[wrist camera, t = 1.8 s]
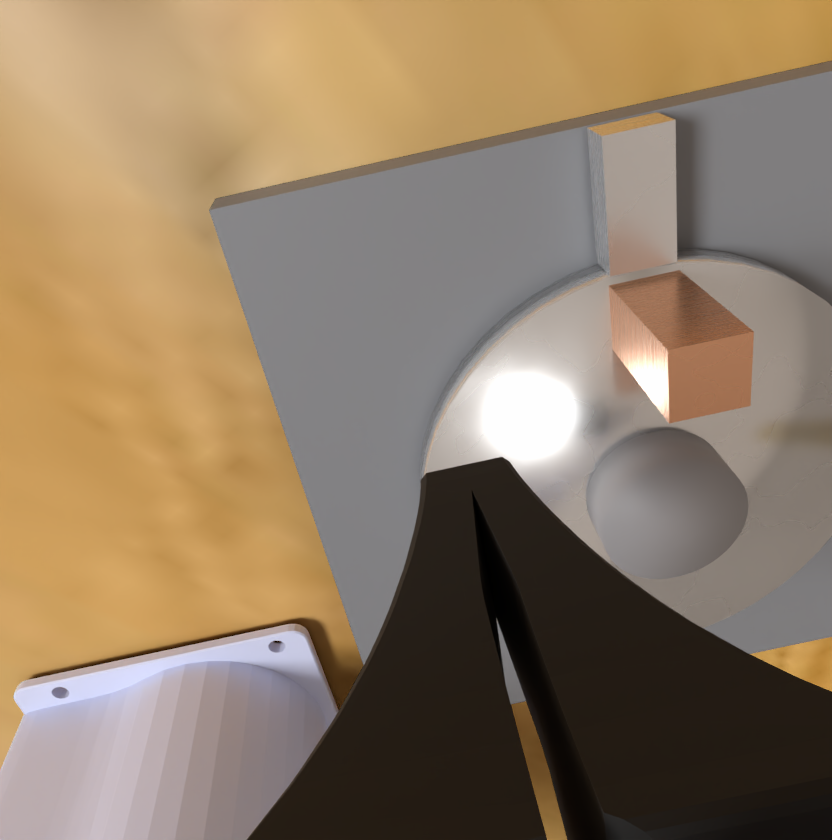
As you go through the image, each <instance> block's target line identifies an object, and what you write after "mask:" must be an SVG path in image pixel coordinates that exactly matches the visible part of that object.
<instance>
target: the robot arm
mask: <svg viewBox="0 0 832 840" xmlns="http://www.w3.org/2000/svg"><path fill="white" fill-rule="evenodd" d="M420 483H421V490H420V501H419V508H418V513H417V518H416V523H415V528H414V532H413V536H412V540H411V544H410V547H409V551H408V555H407V558H406V562H405V565H404V569H403V572H402V575H401V577H400V580H399V583H398V586H397V589H396V592H395V594H394V597H393V600H392V603H391V606H390V608H389V611H388V613H387V616H386V618H385V621H384V623H383V625H382V628H381V630H380V632H379V634H378V637H377V639H376V641H375V643H374V645H373V647H372V650H371V652H370V654H369V656H368V658H367V660H366V662H365V664H364V666H363V668H362V670H361V671H360V673H359V675H358V677H357V679H356V681H355V683H354V684H353V686H352V688H351V690H350V692H349V694H348V696H347V697H346V699H345V701H344V703H343V704H342V706H341V708H340V709H339V711H338V708H337V705H336V703H335V700H334V698H333V695H332V692H331V690H330V687H329V684H328V682H327V679H326V677H325V674H324V671H323V669H322V666H321V664H320V661H319V658H318V656H317V653H316V651H315V648H314V645H313V643H312V640H311V637H310V635H309V632H308V631H307V629H306V628H305V627H303V626H302V625H299V624H286V625H282V626H277V627H272V628H268V629H263V630H258V631H254V632H249V633H244V634H240V635H235V636H230V637H226V638H221V639H216V640H212V641H207V642H202V643H198V644H193V645H188V646H184V647H179V648H174V649H169V650H165V651H160V652H155V653H151V654H146V655H141V656H137V657H132V658H127V659H123V660H118V661H113V662H109V663H104V664H99V665H95V666H90V667H85V668H81V669H76V670H71V671H67V672H62V673H57V674H53V675H48V676H43V677H39V678H34V679H29V680H25V681H23V682H21V683H20V684H19V685H18V686H17V688H16V691H15V693H14V697H13V698H14V700H15V702H16V703H17V705H18V706H19V708H20V709H21V710H22V712H23V713H24V715H23V718H22V720H21V722H20V725H19V727H18V730H17V732H16V734H15V737H14V739H13V741H12V744H11V746H10V748H9V751H8V753H7V756H6V758H5V760H4V763H3V765H2V767H1V770H0V840H547V838H546V834H545V830H544V827H543V823H542V819H541V816H540V812H539V808H538V805H537V801H536V797H535V794H534V790H533V786H532V783H531V779H530V775H529V771H528V768H527V764H526V760H525V756H524V753H523V749H522V745H521V742H520V738H519V734H518V730H517V726H516V722H515V719H514V715H513V711H512V707H511V703H510V699H509V696H508V692H507V688H506V684H505V677H504V669H503V662H502V655H501V648H500V641H499V634H498V626H497V621H498V624H499V627H500V629H501V632H502V635H503V638H504V641H505V643H506V646H507V649H508V652H509V655H510V658H511V660H512V663H513V666H514V669H515V671H516V674H517V677H518V680H519V683H520V685H521V688H522V691H523V694H524V697H525V699H526V702H527V705H528V708H529V711H530V713H531V716H532V719H533V722H534V725H535V727H536V730H537V733H538V736H539V738H540V741H541V745H542V748H543V751H544V754H545V757H546V761H547V764H548V767H549V770H550V774H551V778H552V782H553V786H554V790H555V794H556V797H557V801H558V805H559V809H560V813H561V817H562V821H563V824H564V828H565V832H566V836H567V840H832V692H831V691H829V690H826V689H824V688H821V687H819V686H817V685H814V684H812V683H809V682H807V681H804V680H802V679H800V678H798V677H795V676H793V675H791V674H789V673H787V672H785V671H783V670H781V669H779V668H777V667H775V666H773V665H770V664H768V663H766V662H764V661H762V660H760V659H758V658H756V657H754V656H752V655H750V654H748V653H746V652H745V651H743V650H741V649H739V648H737V647H736V646H734V645H732V644H730V643H729V642H727V641H725V640H723V639H721V638H720V637H718V636H716V635H714V634H713V633H711V632H709V631H707V630H705V629H704V628H702V627H700V626H698V625H697V624H695V623H693V622H692V621H690V620H688V619H687V618H685V617H684V616H682V615H681V614H679V613H678V612H676V611H674V610H673V609H671V608H670V607H668V606H667V605H665V604H664V603H662V602H661V601H659V600H658V599H656V598H655V597H653V596H652V595H651V594H649V593H648V592H646V591H645V590H644V589H642V588H641V587H639V586H638V585H636V584H635V583H634V582H632V581H631V580H630V579H628V578H627V577H626V576H625V575H623V574H622V573H621V572H619V571H618V570H617V569H616V568H614V567H613V566H612V565H611V564H609V563H608V562H607V561H606V560H605V559H603V558H602V557H601V556H600V555H599V554H597V553H596V552H595V551H594V550H593V549H591V548H590V547H589V546H588V545H587V544H586V543H585V542H584V541H582V540H581V539H580V538H579V537H578V536H577V535H576V534H575V533H574V532H573V531H572V530H571V529H570V528H569V527H568V526H567V525H565V524H564V523H563V522H562V521H561V520H560V519H559V518H558V517H557V516H556V515H555V514H554V513H553V512H552V511H551V510H550V509H549V508H548V507H547V506H546V505H545V504H544V503H543V502H542V500H541V499H540V498H539V497H538V496H537V495H536V494H535V493H534V492H533V491H532V489H531V488H530V487H529V486H528V485H527V484H526V482H525V481H524V480H523V479H522V478H521V476H520V475H519V474H518V472H517V471H516V470H515V468H514V467H513V466H512V464H511V463H510V461H508V460H507V459H505V458H503V457H498V458H494V459H489V460H484V461H480V462H475V463H470V464H466V465H461V466H456V467H452V468H447V469H442V470H438V471H433V472H428V473H426V474H425V475H424V476H423V478H422V479H421V480H420ZM496 618H497V619H496ZM273 641H281V643H274V642H273ZM61 687H63V688H61Z"/></svg>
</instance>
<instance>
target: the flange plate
mask: <svg viewBox="0 0 832 840" xmlns="http://www.w3.org/2000/svg"><path fill="white" fill-rule="evenodd" d="M587 133H588V147H589V161H590V175H591V189H592V204H593V218H594V232H595V246H596V260H597V263H598V264H595V265H593V266H590V267H588V268H586V269H583V270H581V271H578V272H576V273H574V274H571V275H569V276H566V277H564V278H562V279H560V280H559V281H557V282H555V283H553V284H551V285H550V286H548V287H546V288H544V289H543V290H541V291H539V292H537V293H535V294H534V295H532V296H531V297H529V298H528V299H527V300H525V301H524V302H523V303H521V304H520V305H518V306H517V307H516V308H514V309H513V310H512V311H510V312H509V313H507V314H506V315H505V316H504V317H503V318H502V319H501V320H500V321H498V322H497V323H496V324H495V325H494V326H493V327H492V328H491V329H490V330H489V331H488V332H487V333H485V334H484V335H483V336H482V337H481V338H480V340H479V341H478V342H477V343H476V344H475V346H474V347H473V348H472V349H471V350H470V351H469V353H468V354H467V355H466V356H465V357H464V358H463V360H462V361H461V362H460V364H459V365H458V367H457V368H456V370H455V371H454V373H453V375H452V376H451V378H450V379H449V381H448V382H447V384H446V385H445V387H444V389H443V391H442V393H441V395H440V397H439V400H438V402H437V404H436V406H435V408H434V410H433V412H432V415H431V418H430V422H429V425H428V428H427V431H426V434H425V437H424V443H423V449H422V455H421V461H420V480H421V479H422V478H423V476H424V475H425V474H426V473H428V472H433V471H438V470H442V469H447V468H452V467H456V466H461V465H466V464H470V463H475V462H480V461H484V460H489V459H494V458H498V457H503V458H505V459H507V460H508V461H510V463H511V464H512V466H513V467H514V468H515V470H516V471H517V472H518V474H519V475H520V476H521V478H522V479H523V480H524V481H525V482H526V484H527V485H528V486H529V487H530V488H531V489H532V491H533V492H534V493H535V494H536V495H537V496H538V497H539V498H540V499H541V500H542V502H543V503H544V504H545V505H546V506H547V507H548V508H549V509H550V510H551V511H552V512H553V513H554V514H555V515H556V516H557V517H558V518H559V519H560V520H561V521H562V522H563V523H564V524H565V525H567V526H568V527H569V528H570V529H571V530H572V531H573V532H574V533H575V534H576V535H577V536H578V537H579V538H580V539H581V540H582V541H584V542H585V543H586V544H587V545H588V546H589V547H590V548H591V549H593V550H594V551H595V552H596V553H597V554H599V555H600V556H601V557H602V558H603V559H605V560H606V561H607V562H608V563H609V564H611V565H612V566H613V567H614V568H616V569H617V570H618V571H619V572H621V573H622V574H623V575H625V576H626V577H627V578H628V579H630V580H631V581H632V582H634V583H635V584H636V585H638V586H639V587H641V588H642V589H644V590H645V591H646V592H648V593H649V594H651V595H652V596H653V597H655V598H656V599H658V600H659V601H661V602H662V603H664V604H665V605H667V606H668V607H670V608H671V609H673V610H674V611H676V612H678V613H679V614H681V615H682V616H684V617H685V618H687V619H688V620H690V621H692V622H693V623H695V624H697V625H698V626H700V627H702V628H705V627H708V626H710V625H712V624H715V623H717V622H719V621H721V620H723V619H726V618H728V617H730V616H732V615H734V614H736V613H738V612H739V611H741V610H743V609H745V608H747V607H748V606H750V605H752V604H754V603H756V602H757V601H759V600H760V599H762V598H763V597H765V596H766V595H768V594H769V593H770V592H772V591H773V590H775V589H776V588H778V587H779V586H780V585H782V584H783V583H784V582H785V581H787V580H788V579H789V578H790V577H791V576H793V575H794V574H795V573H796V572H798V571H799V570H800V569H801V568H802V567H803V566H804V565H805V564H806V563H807V562H808V561H809V560H810V559H811V558H812V557H813V556H814V555H815V554H816V553H817V552H818V551H819V550H820V549H821V548H822V547H823V545H824V544H825V543H826V542H827V541H828V540H829V538H830V537H831V536H832V306H831V305H830V304H829V303H828V302H827V301H825V300H824V299H822V298H821V297H819V296H818V295H816V294H815V293H813V292H812V291H810V290H808V289H807V288H805V287H804V286H802V285H801V284H799V283H798V282H796V281H795V280H793V279H791V278H790V277H788V276H787V275H785V274H784V273H782V272H781V271H779V270H776V269H774V268H772V267H769V266H767V265H765V264H762V263H760V262H758V261H756V260H753V259H749V258H745V257H741V256H737V255H733V254H730V253H726V252H717V251H708V250H699V249H677V202H676V120H675V119H672V118H670V117H667V116H665V115H662V114H660V113H657V112H656V113H651V114H647V115H642V116H638V117H633V118H629V119H625V120H620V121H616V122H611V123H607V124H602V125H598V126H593V127H589V128H587ZM661 430H678V431H684V432H689V433H692V434H695V435H697V436H699V437H701V438H703V439H704V440H706V441H707V442H708V443H709V444H710V445H711V446H712V447H713V448H714V449H715V450H716V451H717V453H718V454H719V455H720V456H721V457H722V459H723V460H724V461H725V462H726V464H727V465H728V466H729V467H730V468H731V470H732V471H733V472H734V473H735V475H736V476H737V477H738V478H739V479H740V481H741V482H742V484H743V485H744V487H745V490H746V492H747V496H748V505H749V508H748V515H747V519H746V522H745V525H744V527H743V529H742V531H741V533H740V535H739V536H738V538H737V539H736V540H735V542H734V543H733V544H732V545H731V546H730V548H729V549H728V550H727V551H726V552H724V553H723V554H722V555H721V556H720V557H719V558H717V559H716V560H714V561H713V562H712V563H710V564H708V565H706V566H705V567H703V568H701V569H699V570H697V571H694V572H692V573H689V574H686V575H682V576H679V577H674V578H668V579H648V578H642V577H638V576H634V575H632V574H630V573H627V572H625V571H624V570H622V569H620V568H619V567H618V566H617V565H616V564H615V563H614V562H613V561H612V560H611V559H610V557H609V555H608V554H607V552H606V550H605V548H604V546H603V543H602V541H601V539H600V537H599V535H598V533H597V531H596V529H595V527H594V525H593V523H592V521H591V519H590V516H589V513H588V510H587V505H586V495H587V489H588V486H589V482H590V480H591V478H592V476H593V474H594V472H595V471H596V469H597V467H598V466H599V465H600V464H601V462H602V461H603V460H604V459H605V458H606V457H607V456H608V455H609V454H610V453H611V452H612V451H614V450H615V449H616V448H617V447H619V446H621V445H622V444H624V443H625V442H627V441H629V440H631V439H633V438H635V437H638V436H641V435H643V434H647V433H650V432H655V431H661ZM420 490H421V483H420ZM496 619H497V618H496ZM497 623H498V621H497Z"/></svg>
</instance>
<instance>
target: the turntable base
mask: <svg viewBox="0 0 832 840" xmlns="http://www.w3.org/2000/svg"><path fill="white" fill-rule="evenodd" d="M656 112H657V113H660V114H662V115H665V116H667V117H670V118H672V119H675V120H676V202H677V249H699V250H708V251H717V252H726V253H730V254H733V255H737V256H741V257H745V258H749V259H753V260H756V261H758V262H760V263H762V264H765V265H767V266H769V267H772V268H774V269H776V270H779V271H781V272H782V273H784V274H785V275H787V276H788V277H790V278H791V279H793V280H795V281H796V282H798V283H799V284H801V285H802V286H804V287H805V288H807V289H808V290H810V291H812V292H813V293H815V294H816V295H818V296H819V297H821V298H822V299H824V300H825V301H827V302H828V303H829V304H830V305H831V306H832V61H828V62H824V63H819V64H815V65H810V66H806V67H801V68H797V69H793V70H788V71H784V72H779V73H775V74H770V75H766V76H761V77H757V78H752V79H748V80H743V81H739V82H734V83H730V84H726V85H721V86H717V87H712V88H708V89H703V90H699V91H694V92H690V93H685V94H681V95H676V96H672V97H667V98H663V99H658V100H654V101H650V102H645V103H641V104H636V105H632V106H627V107H623V108H618V109H614V110H609V111H605V112H600V113H596V114H591V115H587V116H583V117H578V118H574V119H569V120H565V121H560V122H556V123H551V124H547V125H542V126H538V127H533V128H529V129H524V130H520V131H516V132H511V133H507V134H502V135H498V136H493V137H489V138H484V139H480V140H475V141H471V142H466V143H462V144H457V145H453V146H448V147H444V148H440V149H435V150H431V151H426V152H422V153H417V154H413V155H408V156H404V157H399V158H395V159H390V160H386V161H381V162H377V163H373V164H368V165H364V166H359V167H355V168H350V169H346V170H341V171H337V172H332V173H328V174H323V175H319V176H314V177H310V178H305V179H301V180H297V181H292V182H288V183H283V184H279V185H274V186H270V187H265V188H261V189H256V190H252V191H247V192H243V193H238V194H234V195H230V196H225V197H221V198H216V199H215V200H214V202H213V204H212V206H211V208H210V210H209V211H210V214H211V217H212V220H213V223H214V226H215V229H216V232H217V235H218V238H219V241H220V244H221V247H222V250H223V253H224V255H225V258H226V261H227V264H228V267H229V270H230V273H231V276H232V279H233V282H234V285H235V288H236V291H237V294H238V297H239V300H240V303H241V306H242V308H243V311H244V314H245V317H246V320H247V323H248V326H249V329H250V332H251V335H252V338H253V341H254V344H255V347H256V350H257V353H258V356H259V359H260V362H261V364H262V367H263V370H264V373H265V376H266V379H267V382H268V385H269V388H270V391H271V394H272V397H273V400H274V403H275V406H276V409H277V412H278V415H279V417H280V420H281V423H282V426H283V429H284V432H285V435H286V438H287V441H288V444H289V447H290V450H291V453H292V456H293V459H294V462H295V465H296V468H297V470H298V473H299V476H300V479H301V482H302V485H303V488H304V491H305V494H306V497H307V500H308V503H309V506H310V509H311V512H312V515H313V518H314V521H315V523H316V526H317V529H318V532H319V535H320V538H321V541H322V544H323V547H324V550H325V553H326V556H327V559H328V562H329V565H330V568H331V571H332V574H333V577H334V579H335V582H336V585H337V588H338V591H339V594H340V597H341V600H342V603H343V606H344V609H345V612H346V615H347V618H348V621H349V624H350V627H351V630H352V632H353V635H354V638H355V641H356V644H357V647H358V650H359V653H360V656H361V659H362V662H363V665H364V664H365V662H366V660H367V658H368V656H369V654H370V652H371V650H372V647H373V645H374V643H375V641H376V639H377V637H378V634H379V632H380V630H381V628H382V625H383V623H384V621H385V618H386V616H387V613H388V611H389V608H390V606H391V603H392V600H393V597H394V594H395V592H396V589H397V586H398V583H399V580H400V577H401V575H402V572H403V569H404V565H405V562H406V558H407V555H408V551H409V547H410V544H411V540H412V536H413V532H414V528H415V523H416V518H417V513H418V508H419V501H420V461H421V455H422V449H423V443H424V437H425V434H426V431H427V428H428V425H429V422H430V418H431V415H432V412H433V410H434V408H435V406H436V404H437V402H438V400H439V397H440V395H441V393H442V391H443V389H444V387H445V385H446V384H447V382H448V381H449V379H450V378H451V376H452V375H453V373H454V371H455V370H456V368H457V367H458V365H459V364H460V362H461V361H462V360H463V358H464V357H465V356H466V355H467V354H468V353H469V351H470V350H471V349H472V348H473V347H474V346H475V344H476V343H477V342H478V341H479V340H480V338H481V337H482V336H483V335H484V334H485V333H487V332H488V331H489V330H490V329H491V328H492V327H493V326H494V325H495V324H496V323H497V322H498V321H500V320H501V319H502V318H503V317H504V316H505V315H506V314H507V313H509V312H510V311H512V310H513V309H514V308H516V307H517V306H518V305H520V304H521V303H523V302H524V301H525V300H527V299H528V298H529V297H531V296H532V295H534V294H535V293H537V292H539V291H541V290H543V289H544V288H546V287H548V286H550V285H551V284H553V283H555V282H557V281H559V280H560V279H562V278H564V277H566V276H569V275H571V274H574V273H576V272H578V271H581V270H583V269H586V268H588V267H590V266H593V265H595V264H598V263H597V260H596V246H595V232H594V218H593V204H592V189H591V175H590V161H589V147H588V133H587V128H589V127H593V126H598V125H602V124H607V123H611V122H616V121H620V120H625V119H629V118H633V117H638V116H642V115H647V114H651V113H656ZM586 505H587V510H588V513H589V516H590V519H591V521H592V523H593V525H594V527H595V529H596V531H597V533H598V535H599V537H600V539H601V541H602V543H603V546H604V548H605V550H606V552H607V554H608V555H609V557H610V559H611V560H612V561H613V562H614V563H615V564H616V565H617V566H618V567H619V568H620V569H622V570H624V571H625V572H627V573H630V574H632V575H634V576H638V577H642V578H648V579H668V578H674V577H679V576H682V575H686V574H689V573H692V572H694V571H697V570H699V569H701V568H703V567H705V566H706V565H708V564H710V563H712V562H713V561H714V560H716V559H717V558H719V557H720V556H721V555H722V554H723V553H724V552H726V551H727V550H728V549H729V548H730V546H731V545H732V544H733V543H734V542H735V540H736V539H737V538H738V536H739V535H740V533H741V531H742V529H743V527H744V525H745V522H746V519H747V515H748V508H749V505H748V496H747V492H746V490H745V487H744V485H743V484H742V482H741V481H740V479H739V478H738V477H737V476H736V475H735V473H734V472H733V471H732V470H731V468H730V467H729V466H728V465H727V464H726V462H725V461H724V460H723V459H722V457H721V456H720V455H719V454H718V453H717V451H716V450H715V449H714V448H713V447H712V446H711V445H710V444H709V443H708V442H707V441H706V440H704V439H703V438H701V437H699V436H697V435H695V434H692V433H689V432H684V431H678V430H661V431H655V432H650V433H647V434H643V435H641V436H638V437H635V438H633V439H631V440H629V441H627V442H625V443H624V444H622V445H621V446H619V447H617V448H616V449H615V450H614V451H612V452H611V453H610V454H609V455H608V456H607V457H606V458H605V459H604V460H603V461H602V462H601V464H600V465H599V466H598V467H597V469H596V471H595V472H594V474H593V476H592V478H591V480H590V482H589V486H588V489H587V495H586ZM497 626H498V634H499V641H500V648H501V655H502V662H503V669H504V677H505V684H506V688H507V692H508V696H509V699H510V703H511V704H515V703H519V702H524V701H526V699H525V697H524V694H523V691H522V688H521V685H520V683H519V680H518V677H517V674H516V671H515V669H514V666H513V663H512V660H511V658H510V655H509V652H508V649H507V646H506V643H505V641H504V638H503V635H502V632H501V629H500V627H499V624H498V623H497ZM704 629H705V630H707V631H709V632H711V633H713V634H714V635H716V636H718V637H720V638H721V639H723V640H725V641H727V642H729V643H730V644H732V645H734V646H736V647H737V648H739V649H741V650H743V651H745V652H746V653H748V654H752V653H756V652H761V651H766V650H771V649H775V648H780V647H785V646H789V645H794V644H799V643H804V642H808V641H813V640H818V639H823V638H827V637H832V536H831V537H830V538H829V540H828V541H827V542H826V543H825V544H824V545H823V547H822V548H821V549H820V550H819V551H818V552H817V553H816V554H815V555H814V556H813V557H812V558H811V559H810V560H809V561H808V562H807V563H806V564H805V565H804V566H803V567H802V568H801V569H800V570H799V571H798V572H796V573H795V574H794V575H793V576H791V577H790V578H789V579H788V580H787V581H785V582H784V583H783V584H782V585H780V586H779V587H778V588H776V589H775V590H773V591H772V592H770V593H769V594H768V595H766V596H765V597H763V598H762V599H760V600H759V601H757V602H756V603H754V604H752V605H750V606H748V607H747V608H745V609H743V610H741V611H739V612H738V613H736V614H734V615H732V616H730V617H728V618H726V619H723V620H721V621H719V622H717V623H715V624H712V625H710V626H708V627H705V628H704Z"/></svg>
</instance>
